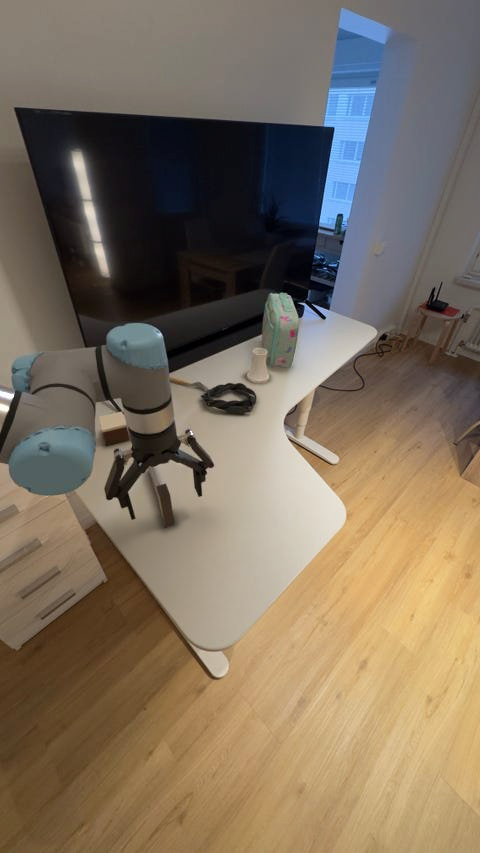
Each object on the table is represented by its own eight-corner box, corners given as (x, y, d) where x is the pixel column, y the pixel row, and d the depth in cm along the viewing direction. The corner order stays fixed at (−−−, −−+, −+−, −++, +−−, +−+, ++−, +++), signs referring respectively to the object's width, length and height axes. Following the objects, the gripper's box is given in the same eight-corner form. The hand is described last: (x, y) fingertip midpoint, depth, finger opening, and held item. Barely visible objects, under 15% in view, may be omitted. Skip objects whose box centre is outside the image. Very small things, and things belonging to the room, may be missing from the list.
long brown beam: (165, 527, 71) (159, 497, 65) (146, 471, 83) (140, 441, 77) (174, 524, 72) (170, 494, 66) (154, 469, 84) (149, 439, 77)
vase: (266, 371, 121) (269, 345, 115) (270, 383, 116) (273, 356, 109) (245, 372, 120) (247, 346, 114) (248, 383, 115) (250, 357, 108)
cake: (106, 446, 89) (101, 430, 86) (103, 432, 94) (98, 416, 90) (129, 440, 91) (126, 424, 88) (125, 426, 96) (121, 411, 92)
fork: (155, 374, 114) (208, 388, 108) (158, 371, 115) (210, 384, 109) (157, 380, 116) (209, 394, 110) (160, 376, 117) (212, 390, 111)
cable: (197, 412, 102) (196, 400, 99) (204, 386, 112) (204, 375, 110) (254, 417, 101) (255, 405, 98) (256, 390, 112) (257, 379, 109)
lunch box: (258, 338, 141) (262, 285, 127) (283, 338, 142) (290, 285, 128) (266, 372, 121) (272, 313, 107) (295, 372, 121) (304, 313, 108)
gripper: (214, 392, 62) (216, 471, 76) (66, 426, 54) (99, 509, 67) (231, 415, 57) (230, 496, 71) (70, 458, 49) (104, 540, 62)
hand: (166, 502), depth 69 cm, fingers open, 13 cm apart
